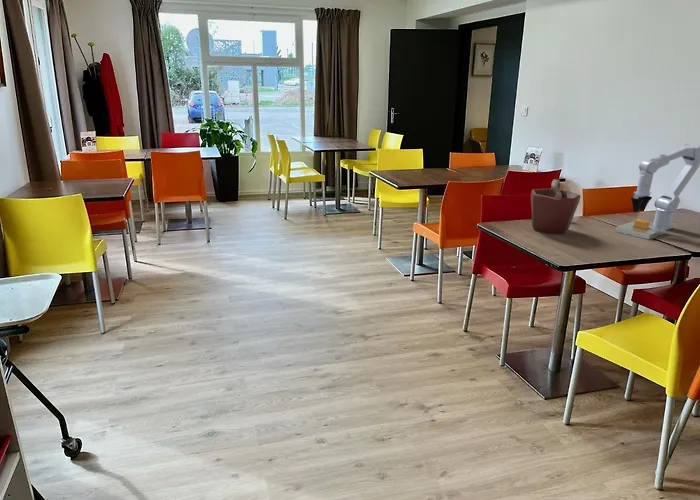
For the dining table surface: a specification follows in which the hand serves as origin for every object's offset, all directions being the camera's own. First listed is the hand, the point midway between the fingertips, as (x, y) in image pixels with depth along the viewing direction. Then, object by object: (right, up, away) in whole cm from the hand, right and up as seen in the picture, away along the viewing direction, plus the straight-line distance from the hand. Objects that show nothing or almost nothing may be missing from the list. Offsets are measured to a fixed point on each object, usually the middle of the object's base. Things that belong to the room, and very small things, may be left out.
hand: (638, 210), depth 258 cm
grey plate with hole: (-1, -11, -4) cm, 12 cm away
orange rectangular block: (-1, -11, -3) cm, 12 cm away
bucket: (-48, -10, -4) cm, 49 cm away
